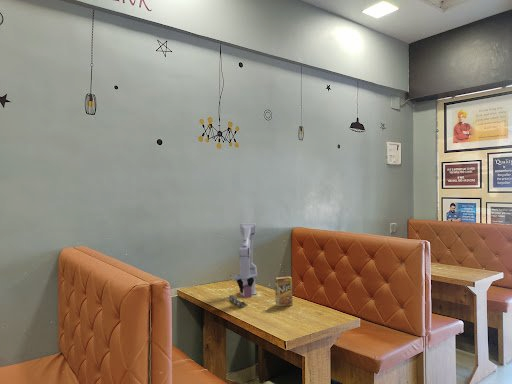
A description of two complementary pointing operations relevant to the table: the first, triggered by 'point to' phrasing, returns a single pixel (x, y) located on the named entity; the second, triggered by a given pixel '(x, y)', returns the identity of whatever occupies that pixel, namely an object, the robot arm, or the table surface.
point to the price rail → (236, 301)
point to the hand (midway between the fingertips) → (245, 292)
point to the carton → (246, 291)
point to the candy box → (283, 291)
